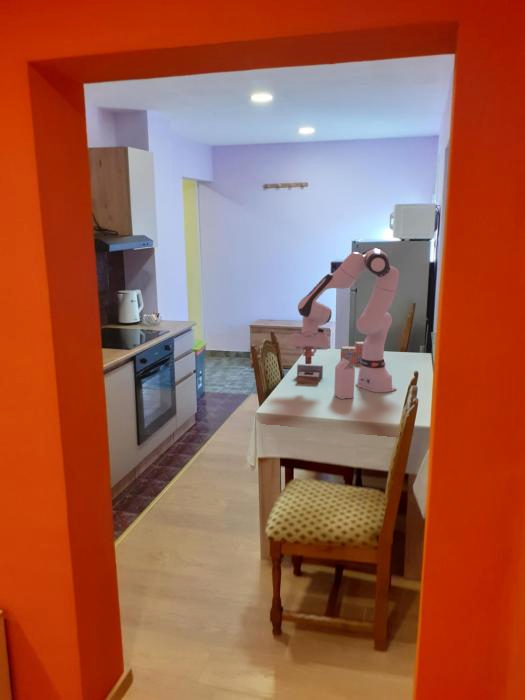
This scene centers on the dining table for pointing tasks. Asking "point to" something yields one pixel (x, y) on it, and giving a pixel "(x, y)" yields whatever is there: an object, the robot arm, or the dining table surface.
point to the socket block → (308, 377)
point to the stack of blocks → (352, 353)
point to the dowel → (308, 355)
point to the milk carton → (344, 380)
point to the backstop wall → (310, 368)
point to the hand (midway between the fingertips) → (308, 355)
